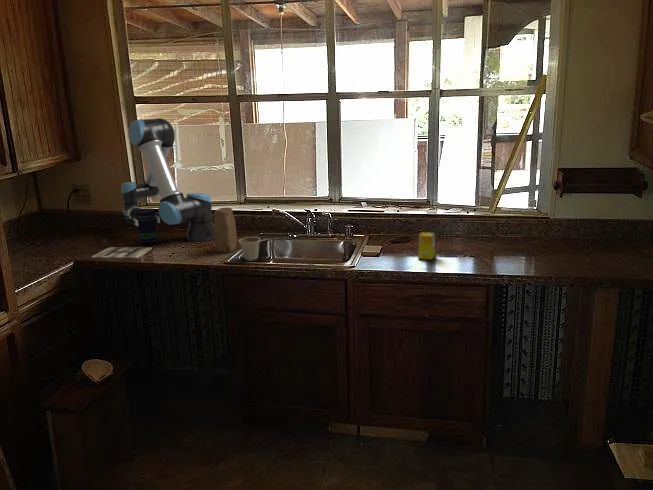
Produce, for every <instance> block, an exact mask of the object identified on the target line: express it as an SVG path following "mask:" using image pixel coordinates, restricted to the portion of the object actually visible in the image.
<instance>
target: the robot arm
mask: <svg viewBox="0 0 653 490" xmlns="http://www.w3.org/2000/svg"><path fill="white" fill-rule="evenodd" d="M175 133H176V131H175V129H174V127H173V125H172V123H170V122H169V121H168V120H167V119H165V118H161V117H160V118H147V119H146V118H145V119H141V118H140V119H137V120H133V121H131V123H130V125H129V127H128V138H129V141H130V143H131V144H132V145H134V146H137V147H138V149H139V151H140V152H143V153H144V157H145V159H146V162H147V163H148V169H147V173H146V177H145V180H144V183H140V184H137V183H136V182H134V181H128V182H127V181H126V182H123V183H122V184H121V186H120V189H121V196H122V203H123V204H122V205H123V207H122V214H123V215H124V217H125V222H126V225H129V224H130V226H134V225H135V226H136V227H137V226H138V220H136V219H135V211H136V210H140V209H141V208H140V207H139V199H145V198H146V199H147V198H151V197H157V196H159V195H160V199H159V205H158V208H157V209H158V213H156V212H155V214H156V223H158V224H160V223H161V220H162V221H163V222H164V223H165V224H167V225H180V224H181V223H185V222H188V223H189V224H188V229H187V233H186V238H187V239H186V240H187V241H189V242H209V241H212V240H215V232H214V219H213V210H212V200H211V195H209V194H208V193H202V192H189V193H186V196H184V193H183V192H182V191H180V190H179V189H178V187H177V184H176V181H175V179H174V176H173V173H172V172H171V168H170V165H169V164H168V161H167V160H168V156H169V154H170V151H171V150H170V149H171V148H173V147H174V143H175V139H176V134H175Z"/></svg>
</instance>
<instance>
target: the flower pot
mask: <svg viewBox="0 0 653 490" xmlns="http://www.w3.org/2000/svg"><path fill="white" fill-rule="evenodd" d="M238 242H239V244H240V247H241V251H242V254H243V259H244V260H245V261H248V260H249V261H255V260H257V259H259V246H260V242H261V238H260V237H256V236H249V237H243V238H240V239H239V240H238Z"/></svg>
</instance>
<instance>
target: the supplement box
mask: <svg viewBox="0 0 653 490" xmlns="http://www.w3.org/2000/svg"><path fill="white" fill-rule="evenodd" d="M435 239H436V233H435V232H424V231H423V232H420V233H419V235H418V256H417V257H418V261H424V262H425V261H426V262H433V260H434V259H435V253H436V252H435V251H436V249H435V248H436V246H435V245H436V243H435V242H436V241H435Z"/></svg>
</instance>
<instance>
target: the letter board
mask: <svg viewBox="0 0 653 490" xmlns="http://www.w3.org/2000/svg"><path fill="white" fill-rule="evenodd" d="M152 249H153V247H143V246H141V247H138V246H137V247H133V246H132V247H128V246H127V247H126V246H125V247H121V246H118V247H117V246H116V247H114V246H111V247H107V248H104V249H103V250H102V251H101V250H100V251H99V252H98V253H96V254H94V255H92V256H91V258H92V259H97V258H98V259H138V258H140V257H142V256H143V255H144V254H146V253H147V252H149V251H150V250H152Z"/></svg>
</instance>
